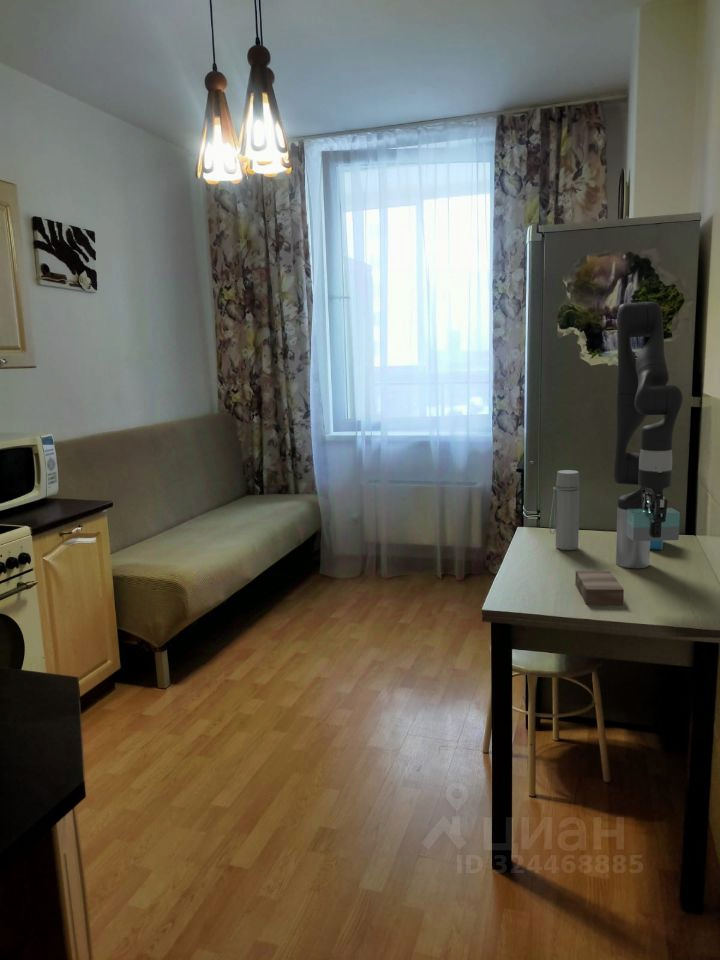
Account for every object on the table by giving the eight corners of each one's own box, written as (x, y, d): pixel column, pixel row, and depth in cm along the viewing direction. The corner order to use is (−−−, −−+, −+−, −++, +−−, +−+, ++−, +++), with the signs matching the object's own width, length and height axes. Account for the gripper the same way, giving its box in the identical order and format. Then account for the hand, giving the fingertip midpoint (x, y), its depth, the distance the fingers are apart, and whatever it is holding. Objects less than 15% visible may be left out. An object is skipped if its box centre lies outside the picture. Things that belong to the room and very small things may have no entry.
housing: (626, 535, 173) (627, 509, 172) (670, 534, 173) (671, 507, 171) (633, 541, 168) (634, 513, 167) (678, 540, 168) (680, 512, 167)
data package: (648, 540, 225) (649, 505, 223) (663, 541, 223) (664, 505, 221) (646, 550, 215) (648, 513, 213) (662, 551, 213) (663, 514, 211)
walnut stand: (575, 584, 186) (575, 570, 185) (609, 584, 185) (610, 570, 184) (585, 604, 171) (586, 589, 171) (623, 604, 170) (623, 589, 169)
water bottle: (575, 544, 223) (577, 469, 219) (581, 551, 216) (582, 473, 211) (547, 544, 224) (548, 470, 220) (551, 551, 217) (552, 474, 212)
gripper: (631, 462, 175) (629, 526, 178) (647, 472, 161) (644, 542, 164) (662, 462, 174) (659, 526, 177) (680, 472, 160) (677, 542, 163)
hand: (652, 533), depth 170 cm, fingers closed on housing, 5 cm apart
